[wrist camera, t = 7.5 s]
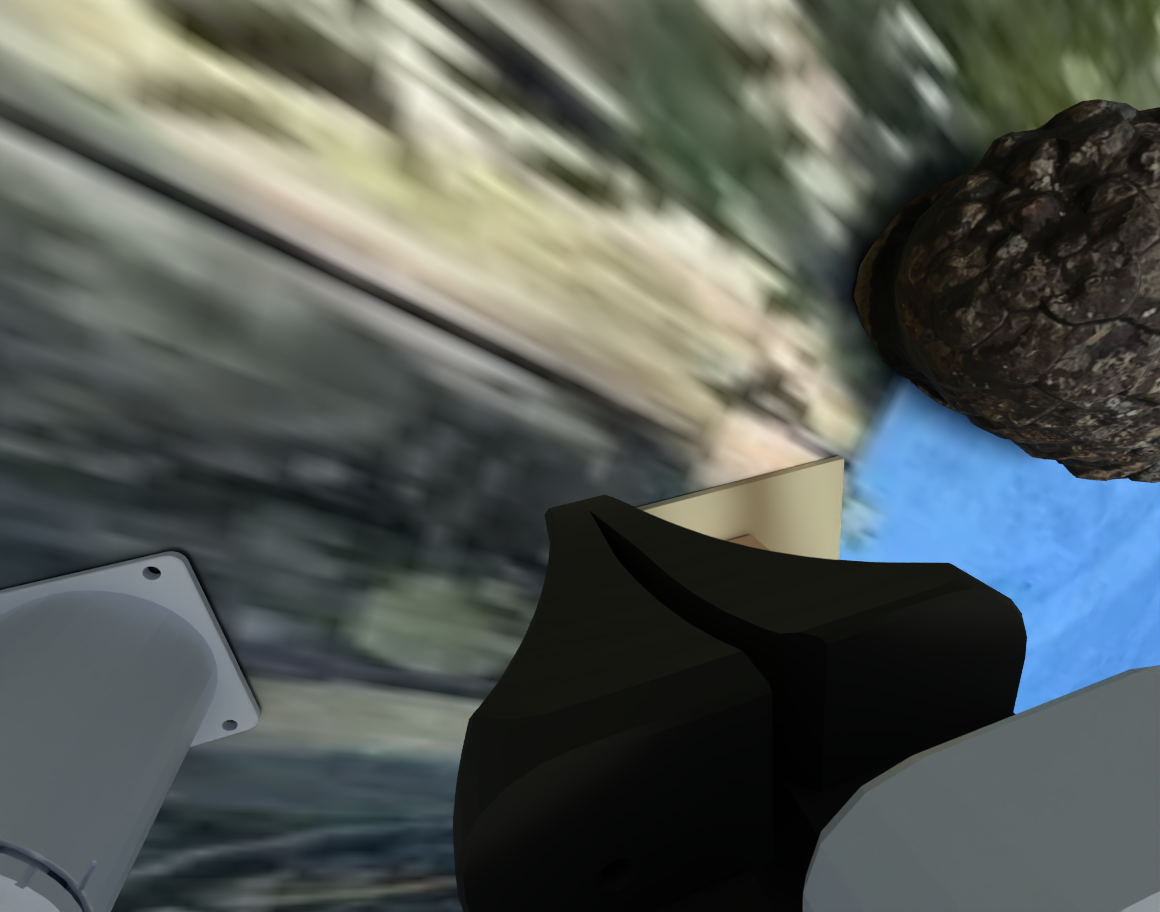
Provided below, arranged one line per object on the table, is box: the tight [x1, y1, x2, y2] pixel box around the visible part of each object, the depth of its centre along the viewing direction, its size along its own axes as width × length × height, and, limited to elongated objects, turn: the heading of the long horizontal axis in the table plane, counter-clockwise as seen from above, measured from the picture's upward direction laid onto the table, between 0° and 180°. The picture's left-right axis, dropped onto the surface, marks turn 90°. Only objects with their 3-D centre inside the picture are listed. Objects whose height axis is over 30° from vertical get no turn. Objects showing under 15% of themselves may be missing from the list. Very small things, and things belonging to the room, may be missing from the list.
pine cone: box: [854, 99, 1160, 483], centre depth 20 cm, size 10×18×10 cm, turn 64°
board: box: [636, 456, 844, 560], centre depth 26 cm, size 11×14×1 cm
